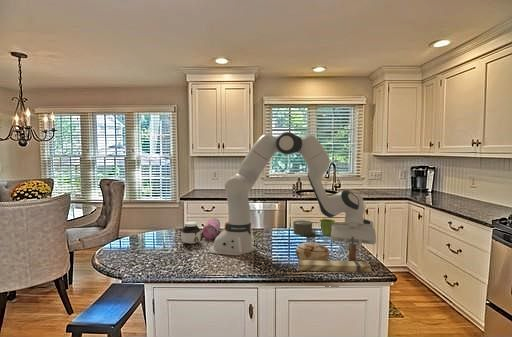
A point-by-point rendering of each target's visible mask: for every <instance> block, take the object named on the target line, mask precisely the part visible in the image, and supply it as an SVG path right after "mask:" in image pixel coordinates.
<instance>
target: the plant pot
mask: <svg viewBox="0 0 512 337" xmlns="http://www.w3.org/2000/svg"><path fill="white" fill-rule="evenodd" d="M319 222H320V227H321V234H322V236H329V237H331V232H332V229H331V227H332V224H334V223H336V220H334V219H331V218H330V219H329V218H327V219H326V218H324V219H323V218H322V219H319Z"/></svg>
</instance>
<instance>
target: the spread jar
mask: <svg viewBox="0 0 512 337" xmlns="http://www.w3.org/2000/svg"><path fill="white" fill-rule="evenodd" d="M200 232H201V229H200V227H199V226H198V222H197V221H186V222H184V226H183V227H182V229H181V232H180V233H181V234H180V239H181V242H182V243H183V245H185V246H195V245H197V244H198V243H199V242H200V241H201V239H200Z"/></svg>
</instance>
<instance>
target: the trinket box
mask: <svg viewBox="0 0 512 337" xmlns="http://www.w3.org/2000/svg"><path fill="white" fill-rule="evenodd" d="M295 255H296V257H297V258H296V259H297V260H321V261H329V258H330V251H329V248H328V247H327V246H324V245H323V244H320V243H317V242H311V241H310V242H309V241H306V242H302V243H299V244H298V245H297V246H296V248H295Z"/></svg>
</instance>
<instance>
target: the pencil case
mask: <svg viewBox="0 0 512 337" xmlns="http://www.w3.org/2000/svg"><path fill="white" fill-rule="evenodd" d="M220 229H221V222H220V221H219V219H217V218H213V217H212V218H210V219H209V220H207V222H206V224H205V226H204V227H203V229H202V230H203V237H204V239H205V240H213V239H215V238H216V237H217V236H218V235H219V233H220Z"/></svg>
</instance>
